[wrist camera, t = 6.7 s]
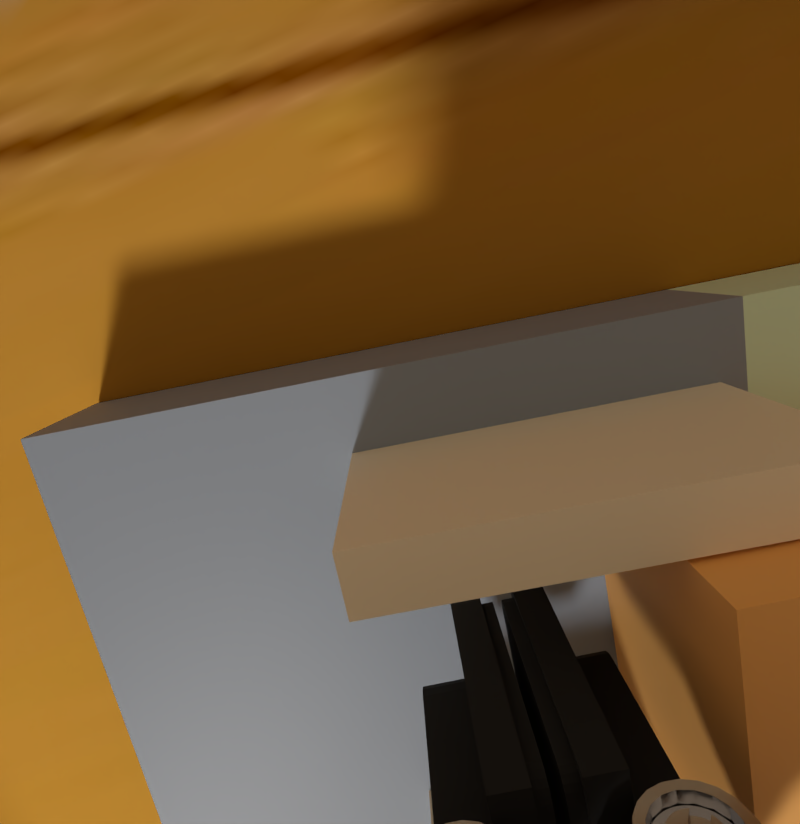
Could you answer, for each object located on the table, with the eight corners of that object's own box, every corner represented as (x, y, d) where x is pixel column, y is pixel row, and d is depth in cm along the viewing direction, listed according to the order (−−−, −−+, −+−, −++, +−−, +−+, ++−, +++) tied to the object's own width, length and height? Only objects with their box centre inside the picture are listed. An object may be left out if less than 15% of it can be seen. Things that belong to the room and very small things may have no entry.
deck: (1134, 196, 13) (1917, 123, 6) (1089, 655, 16) (1601, 940, 9) (97, 403, 14) (-179, 533, 7) (230, 807, 17) (122, 1172, 10)
